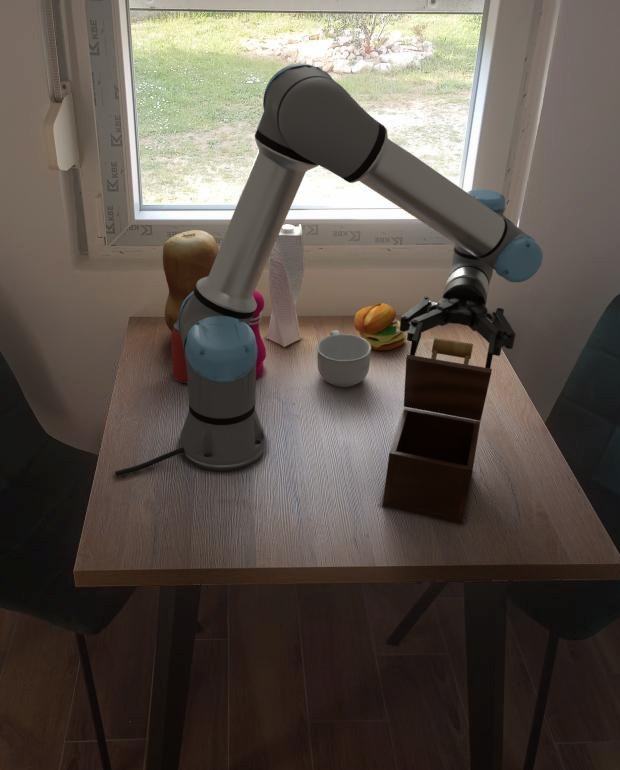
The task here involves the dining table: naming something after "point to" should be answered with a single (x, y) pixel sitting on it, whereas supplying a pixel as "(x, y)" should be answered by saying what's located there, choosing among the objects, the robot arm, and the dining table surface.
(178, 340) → the beer can
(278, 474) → the dining table surface
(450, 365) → the lid
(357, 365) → the teacup
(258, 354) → the pepper mill
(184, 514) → the dining table surface
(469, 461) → the caddy
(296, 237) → the skyscraper
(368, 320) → the cheeseburger
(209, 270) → the butternut squash
